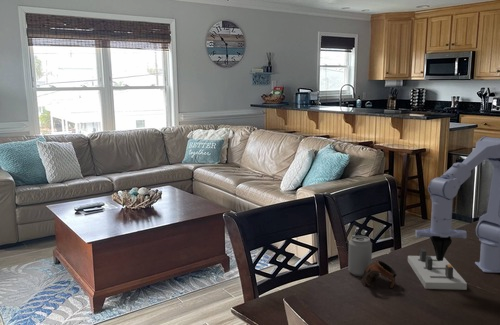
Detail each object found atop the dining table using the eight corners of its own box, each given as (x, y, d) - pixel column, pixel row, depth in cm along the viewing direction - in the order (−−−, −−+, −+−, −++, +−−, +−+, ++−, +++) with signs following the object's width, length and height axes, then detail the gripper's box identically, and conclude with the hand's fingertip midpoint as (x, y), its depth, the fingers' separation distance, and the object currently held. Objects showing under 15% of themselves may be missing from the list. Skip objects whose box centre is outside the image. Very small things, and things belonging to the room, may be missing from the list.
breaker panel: (443, 261, 154) (443, 246, 154) (466, 289, 133) (467, 272, 132) (407, 261, 156) (408, 245, 155) (425, 288, 134) (425, 271, 133)
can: (369, 268, 150) (370, 234, 148) (373, 277, 143) (374, 241, 141) (346, 267, 151) (347, 234, 149) (349, 277, 144) (350, 241, 142)
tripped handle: (449, 274, 138) (450, 263, 137) (452, 278, 135) (453, 267, 135) (445, 274, 138) (445, 263, 138) (447, 277, 136) (448, 267, 135)
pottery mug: (365, 276, 145) (379, 256, 143) (389, 296, 140) (403, 276, 138) (350, 280, 135) (365, 258, 133) (376, 301, 130) (391, 279, 128)
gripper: (420, 220, 131) (418, 264, 133) (471, 221, 129) (469, 265, 132) (414, 214, 138) (412, 255, 140) (462, 214, 136) (460, 256, 138)
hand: (439, 259), depth 136 cm, fingers closed
